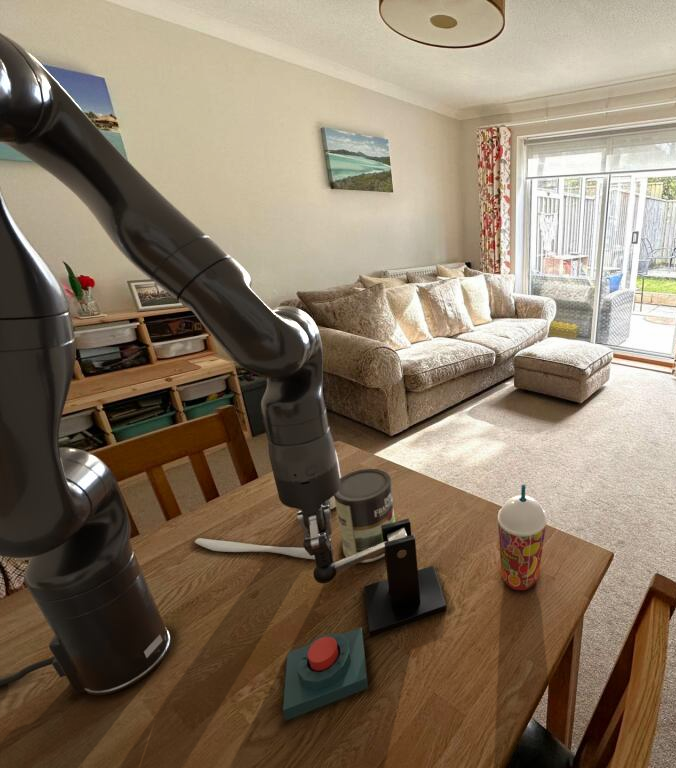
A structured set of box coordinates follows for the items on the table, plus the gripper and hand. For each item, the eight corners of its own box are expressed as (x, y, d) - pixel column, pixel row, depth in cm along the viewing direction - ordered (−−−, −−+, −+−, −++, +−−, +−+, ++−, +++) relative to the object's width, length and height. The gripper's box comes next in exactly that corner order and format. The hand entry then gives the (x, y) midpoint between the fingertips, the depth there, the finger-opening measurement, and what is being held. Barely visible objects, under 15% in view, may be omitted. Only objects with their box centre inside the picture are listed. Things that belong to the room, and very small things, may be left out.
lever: (317, 592, 59) (309, 577, 57) (318, 575, 61) (310, 560, 60) (412, 551, 63) (406, 536, 61) (408, 537, 66) (403, 523, 64)
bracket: (370, 637, 62) (359, 564, 56) (365, 591, 69) (354, 523, 64) (446, 611, 66) (443, 540, 61) (433, 570, 74) (429, 504, 69)
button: (309, 675, 53) (307, 666, 52) (310, 650, 56) (308, 642, 55) (338, 664, 54) (337, 656, 54) (337, 641, 57) (336, 632, 57)
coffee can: (406, 529, 84) (400, 471, 79) (381, 567, 74) (373, 505, 69) (360, 521, 86) (352, 464, 80) (331, 557, 76) (319, 496, 71)
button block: (285, 721, 51) (279, 701, 50) (290, 662, 58) (284, 643, 57) (368, 688, 55) (364, 669, 54) (363, 637, 62) (360, 618, 60)
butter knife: (319, 562, 74) (327, 549, 77) (187, 546, 77) (200, 535, 80) (319, 564, 75) (328, 551, 77) (188, 549, 78) (201, 537, 80)
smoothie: (489, 569, 75) (489, 478, 67) (528, 554, 78) (532, 466, 71) (509, 604, 68) (512, 508, 60) (551, 586, 71) (559, 493, 64)
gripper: (277, 443, 57) (299, 539, 63) (266, 498, 46) (294, 608, 52) (334, 434, 60) (349, 526, 66) (337, 484, 49) (355, 589, 55)
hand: (325, 562), depth 59 cm, fingers closed
